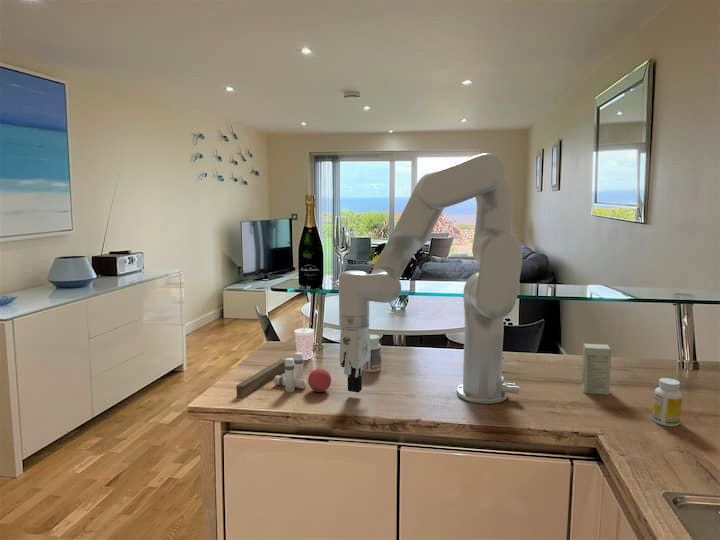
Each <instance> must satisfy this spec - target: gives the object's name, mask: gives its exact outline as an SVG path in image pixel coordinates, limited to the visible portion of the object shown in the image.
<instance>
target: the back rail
mask: <svg viewBox="0 0 720 540" xmlns="http://www.w3.org/2000/svg"><path fill="white" fill-rule="evenodd" d="M282 373H285V359H279V360H277V361H275V362H273V363H271V364H270V365H268V366H266V367H265V368H264V369H262V370H260V371H258V372H256V373H254V374H252V375H251V376H250V377H248V378H246V379H245V380H243V381H241V382H240V383H238V384H236V389H235V390H236V397H237V398H245V397H247V396H249V395H250V394H252V393H253V392H255V391H256V390H258V389H259V388H261V387H262V386H264V385H266V384H267V383H268V382H270V381H272V380H273V379H275V377H276V376H277V375H278V376H281V374H282Z"/></svg>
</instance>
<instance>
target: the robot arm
mask: <svg viewBox="0 0 720 540" xmlns="http://www.w3.org/2000/svg"><path fill="white" fill-rule="evenodd" d="M506 172H507V171H506V166H505V163H504V161H503V160H502V159H501V158H500V157H499V156H497V155H496V154H494V153H488V152H487V153H480V154H477V155H473V156H470V157H469V158H466V159H465V160H463V161H462V162H459V163H456V164H453V165H451V166H448V167H445V168H442V169H440V170H439V169H438V170H437V171H431V172H429V173H428V172H427V173H426V174H424V175H423V176H422V177H421V178H420V179H419V180H418V182H417V184H416V185H415V187H414V188H413V191H412V193H411V195H410V196H409V198H408V201H407V203H406V205H405V207H404V209H403V211H402V213H401V214H400V216H399V219H398V221H397V222H396V224H395V226H394V228H393V229H392V232H391V233H390V235H389V238H388V240H387V242H386V243H385V245H384V246H383V249H382V251H381V253H380V255H379V256H378V259H377V261H376V263H375V265H374V266H373V268H372V270H371V271H370V272H371V273H368V272H366V271H363V270H346V271H342V272H341V273H340V274H339V276H338V319H339V320H338V321H339V322H338V325H339V326H338V327H339V328H340V338H339V339H340V340H339V365H340V367H341V368H344V369H343V374H344V375H346V377H347V391H348V392H351V393H352V392H353V393H360V392H361V391H362V389H363V388H362V386H363V384H362V381H363V380H362V378H363V377H362V374H363V369H362V366H363V365H364V364H365V363H366V362H368V361H369V360H370V357H371V349H370V335H371V334H370V302H375V303H380V304H381V303H382V304H388V303H392V302H394V301H396V300H397V299H398V298H399V296H400V295H401V293H402V283H401V281H400V279H401V277H402V276H403V273H404V271H406V270H405V269H406V268H407V266H408V264H409V263H410V262H411V259H412V257H414V255H415V254H416V253H417V252H418V251H419V250H421V249H422V248H423V247H424V246H425V245H426V243H427V242H428V239H429V238H430V236H431V234H432V233H433V230H434V228H435V226H436V225H437V223H438V220H439V218H440V216H441V215H442V214H443V211H444V209H445V208H449V207H451V206H455V205H458V204H460V203H461V204H462V203H463V202H465V201H468V200H471V199H474V198H475V201H476V221H475V228H474V233H473V234H474V236H473V242H472V249H471V250H472V251H471V252H472V255H473V258H474V260H475V261H476V262H477V263H478V265H479V266H478V267H479V268H478V272H475V273H473V274H472V275H470V276H469V278H468V279H467V280H466V282H465V284H464V287H463V293H462V294H463V311H464V331H463V332H464V336H463V338H464V339H463V366H462V367H463V371H462V375H463V377H462V383H461V384H459V385H458V386H457V387H456V394H457V396H458V397H460V398H461V399H462V400H464V401H467V402H470V403H475V404H480V405H481V404H483V405H490V404H491V405H493V404H498V403H501V402H504V401H505V400H507V398H508V393H509V394H513V395H520V386H518V385H516V383H512V382H507V381H504V380H505V379H504V378H505V377H504V376H503V374H502V372H503V371H502V370H503V350H504V349H503V347H504V346H503V345H504V330H505V329H504V318H505V317H506V316H508V315H509V314H510V313H511V312H512V311H513V309H514V307H515V306H516V302H517V299H518V293H519V286H520V281H521V280H520V279H521V273H522V265H523V249H522V245H521V243H520V241H519V240H518V238H517V237H516V236H515V235H514V234H512V227H513V225H512V224H513V215H514V197H513V193H512V190H511V188H510V186H509V183H508V182H507V180H506V178H505V177H506V174H507V173H506Z"/></svg>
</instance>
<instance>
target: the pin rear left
mask: <svg viewBox="0 0 720 540" xmlns="http://www.w3.org/2000/svg"><path fill="white" fill-rule="evenodd" d="M284 360H285V371H284V376H285V386H284V387H285V390H284V391H285V392H286V393H292V392H295V388H296V387H295V381H294V378H295V376H294V357H286V358H284Z"/></svg>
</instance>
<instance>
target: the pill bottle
mask: <svg viewBox="0 0 720 540" xmlns="http://www.w3.org/2000/svg"><path fill="white" fill-rule="evenodd" d="M370 349H371V357H370V360H369V361H368V362H366V363H365V364H364V365H363V366H362V371H364V372H366V373H367V372H368V373H376V372H379V371H381V369H382V345H381V344H380V336H379V335H377V334H370Z"/></svg>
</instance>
